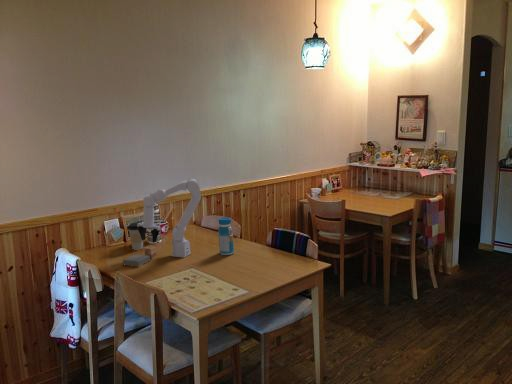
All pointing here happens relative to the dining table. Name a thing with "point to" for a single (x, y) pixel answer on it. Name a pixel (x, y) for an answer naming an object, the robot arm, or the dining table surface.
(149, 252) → the terracotta block
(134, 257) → the charcoal plinth
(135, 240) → the coffee cup
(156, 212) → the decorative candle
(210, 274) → the dining table surface
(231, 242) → the beverage bottle
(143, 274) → the dining table surface
